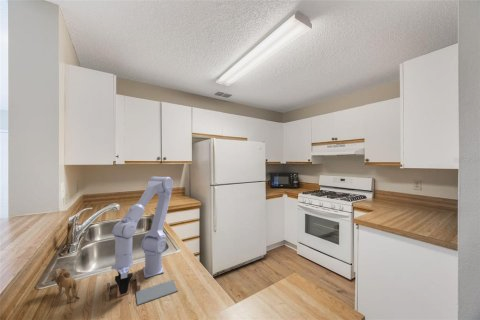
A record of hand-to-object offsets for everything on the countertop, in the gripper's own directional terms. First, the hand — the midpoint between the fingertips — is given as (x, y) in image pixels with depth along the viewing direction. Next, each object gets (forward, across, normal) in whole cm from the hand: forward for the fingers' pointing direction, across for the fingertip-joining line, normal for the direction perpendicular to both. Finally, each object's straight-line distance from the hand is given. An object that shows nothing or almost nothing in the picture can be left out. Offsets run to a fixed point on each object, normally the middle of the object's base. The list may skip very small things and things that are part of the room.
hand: (123, 287), depth 74 cm
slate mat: (+2, +7, +11) cm, 13 cm away
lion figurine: (+2, -9, -19) cm, 21 cm away
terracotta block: (+2, 0, 0) cm, 2 cm away
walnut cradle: (+2, -1, 0) cm, 2 cm away
